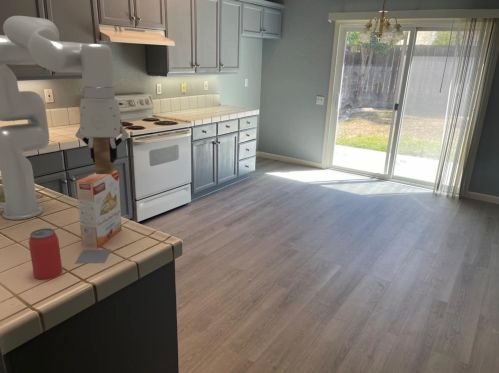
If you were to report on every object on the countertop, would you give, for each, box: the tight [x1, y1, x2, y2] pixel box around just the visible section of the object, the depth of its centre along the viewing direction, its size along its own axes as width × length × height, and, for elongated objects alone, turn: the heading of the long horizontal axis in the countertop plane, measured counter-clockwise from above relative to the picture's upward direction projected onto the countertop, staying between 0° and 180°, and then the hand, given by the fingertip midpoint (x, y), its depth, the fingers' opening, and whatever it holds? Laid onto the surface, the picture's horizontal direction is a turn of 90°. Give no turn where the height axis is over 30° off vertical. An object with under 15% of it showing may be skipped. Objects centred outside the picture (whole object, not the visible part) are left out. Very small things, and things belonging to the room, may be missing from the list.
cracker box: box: [75, 170, 123, 249], centre depth 117 cm, size 14×6×21 cm, turn 168°
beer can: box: [28, 227, 63, 281], centre depth 98 cm, size 7×7×12 cm
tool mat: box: [74, 248, 112, 265], centre depth 108 cm, size 8×8×1 cm
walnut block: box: [93, 138, 115, 174], centre depth 105 cm, size 4×4×12 cm
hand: (104, 160), depth 106 cm, fingers closed on walnut block, 4 cm apart
